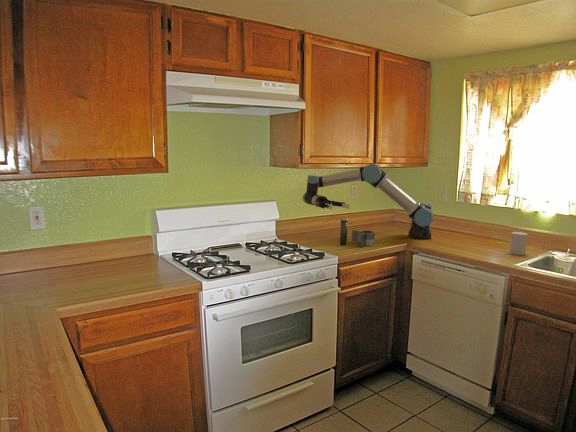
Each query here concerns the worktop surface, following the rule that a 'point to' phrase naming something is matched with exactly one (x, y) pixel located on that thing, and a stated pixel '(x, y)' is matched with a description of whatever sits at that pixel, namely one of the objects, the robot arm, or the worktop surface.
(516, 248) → the cup
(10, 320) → the worktop surface
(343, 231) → the hinge pin
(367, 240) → the hinge
